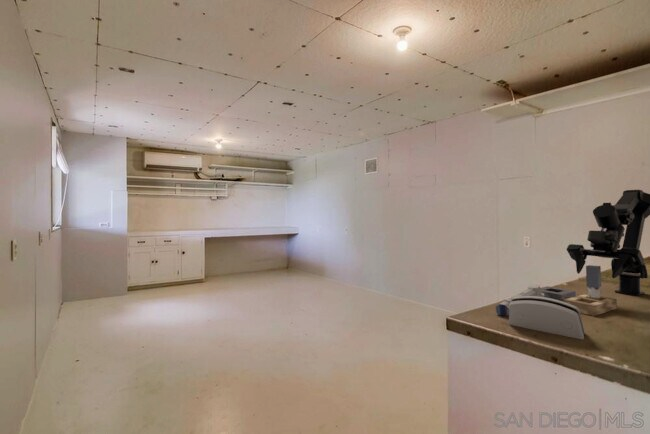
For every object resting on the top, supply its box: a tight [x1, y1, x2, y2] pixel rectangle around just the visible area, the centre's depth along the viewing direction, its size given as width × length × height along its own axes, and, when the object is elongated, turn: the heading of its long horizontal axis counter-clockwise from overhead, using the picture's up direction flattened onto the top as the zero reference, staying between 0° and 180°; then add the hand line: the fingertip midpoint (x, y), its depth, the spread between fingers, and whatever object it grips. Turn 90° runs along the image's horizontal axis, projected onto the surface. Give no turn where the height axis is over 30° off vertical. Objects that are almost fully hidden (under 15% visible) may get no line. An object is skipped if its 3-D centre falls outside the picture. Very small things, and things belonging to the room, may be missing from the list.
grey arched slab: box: [508, 296, 586, 340], centre depth 87 cm, size 17×5×10 cm, turn 46°
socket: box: [540, 286, 577, 302], centre depth 115 cm, size 9×9×3 cm
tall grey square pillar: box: [585, 264, 602, 300], centre depth 105 cm, size 3×3×13 cm
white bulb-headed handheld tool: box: [495, 284, 544, 317], centre depth 106 cm, size 5×7×25 cm
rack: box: [564, 293, 618, 317], centre depth 103 cm, size 14×8×3 cm, turn 118°
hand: (594, 274), depth 105 cm, fingers open, 9 cm apart
